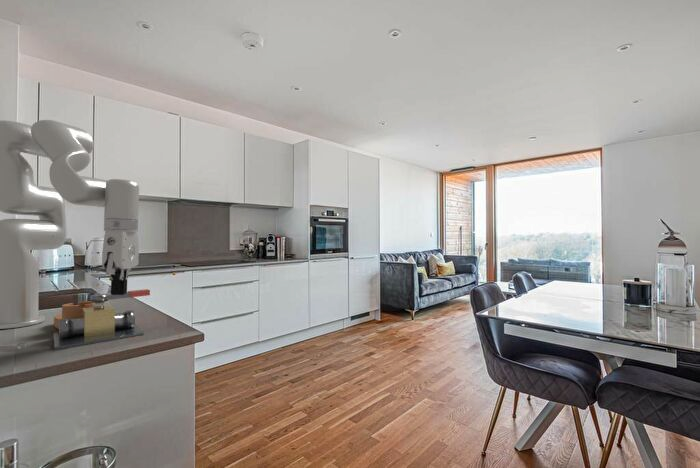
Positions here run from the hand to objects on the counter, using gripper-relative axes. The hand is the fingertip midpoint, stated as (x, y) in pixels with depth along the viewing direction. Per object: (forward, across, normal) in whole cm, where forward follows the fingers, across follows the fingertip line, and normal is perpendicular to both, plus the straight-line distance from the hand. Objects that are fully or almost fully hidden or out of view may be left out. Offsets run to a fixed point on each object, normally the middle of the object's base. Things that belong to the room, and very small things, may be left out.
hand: (118, 294), depth 89 cm
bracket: (+12, +11, +16) cm, 22 cm away
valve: (+11, +2, +6) cm, 13 cm away
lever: (+2, +5, +2) cm, 6 cm away
